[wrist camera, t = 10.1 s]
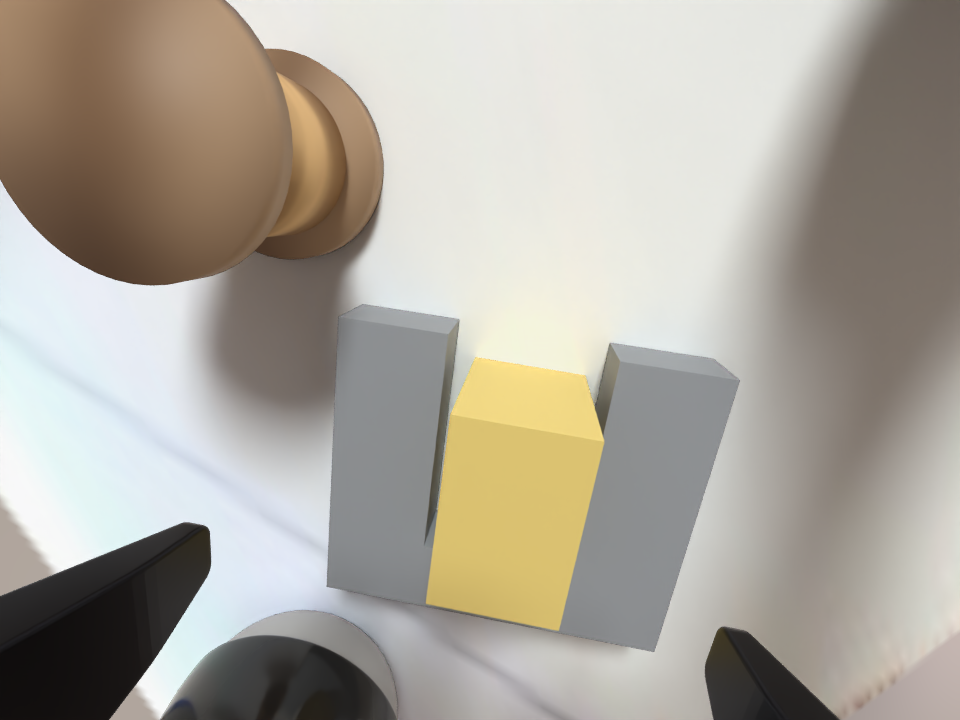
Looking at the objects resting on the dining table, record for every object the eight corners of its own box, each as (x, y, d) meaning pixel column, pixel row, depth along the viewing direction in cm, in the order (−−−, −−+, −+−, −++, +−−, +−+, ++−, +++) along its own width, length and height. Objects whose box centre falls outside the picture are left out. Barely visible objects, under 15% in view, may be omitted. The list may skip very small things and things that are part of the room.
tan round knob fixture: (390, 69, 17) (270, -47, 9) (377, 269, 19) (270, 305, 11) (202, 47, 17) (-57, -82, 10) (209, 243, 20) (1, 263, 12)
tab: (553, 520, 22) (558, 630, 16) (454, 502, 22) (425, 603, 16) (585, 374, 19) (604, 441, 14) (475, 356, 20) (450, 414, 14)
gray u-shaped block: (714, 359, 19) (739, 380, 16) (641, 605, 22) (654, 652, 20) (362, 304, 20) (338, 316, 17) (348, 548, 23) (326, 586, 21)
